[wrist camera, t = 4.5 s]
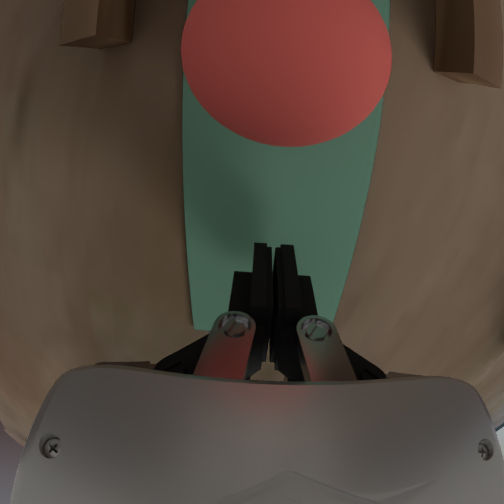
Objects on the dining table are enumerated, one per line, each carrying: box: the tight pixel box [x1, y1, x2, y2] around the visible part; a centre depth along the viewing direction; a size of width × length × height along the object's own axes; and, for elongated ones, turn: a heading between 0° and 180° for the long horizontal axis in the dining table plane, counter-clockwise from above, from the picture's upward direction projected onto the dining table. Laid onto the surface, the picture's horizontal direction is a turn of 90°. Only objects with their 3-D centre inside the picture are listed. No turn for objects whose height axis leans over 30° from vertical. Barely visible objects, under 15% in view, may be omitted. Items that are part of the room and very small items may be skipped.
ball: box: [181, 0, 392, 147], centre depth 7 cm, size 6×6×6 cm
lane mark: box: [182, 0, 390, 331], centre depth 9 cm, size 30×8×1 cm, turn 177°
